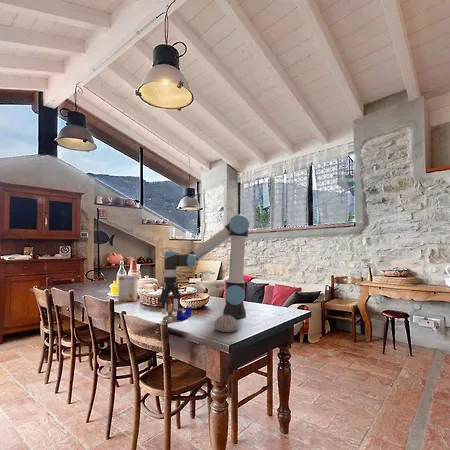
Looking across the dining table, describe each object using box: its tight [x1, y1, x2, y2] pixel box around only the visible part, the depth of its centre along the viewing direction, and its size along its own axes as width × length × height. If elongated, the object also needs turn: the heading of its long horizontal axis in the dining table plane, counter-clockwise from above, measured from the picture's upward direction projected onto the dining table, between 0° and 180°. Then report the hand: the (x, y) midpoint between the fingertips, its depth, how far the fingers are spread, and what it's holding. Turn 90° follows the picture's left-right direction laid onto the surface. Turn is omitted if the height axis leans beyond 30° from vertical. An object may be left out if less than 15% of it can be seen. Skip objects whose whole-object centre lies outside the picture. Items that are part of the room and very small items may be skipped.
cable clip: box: [176, 306, 192, 322], centre depth 185 cm, size 12×4×6 cm, turn 156°
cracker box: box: [118, 274, 139, 302], centre depth 243 cm, size 14×6×21 cm, turn 82°
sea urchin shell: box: [214, 314, 239, 333], centre depth 160 cm, size 13×14×8 cm
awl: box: [167, 303, 173, 317], centre depth 178 cm, size 3×3×10 cm
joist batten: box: [162, 310, 186, 324], centre depth 183 cm, size 5×20×3 cm, turn 159°
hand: (170, 311), depth 178 cm, fingers open, 13 cm apart
